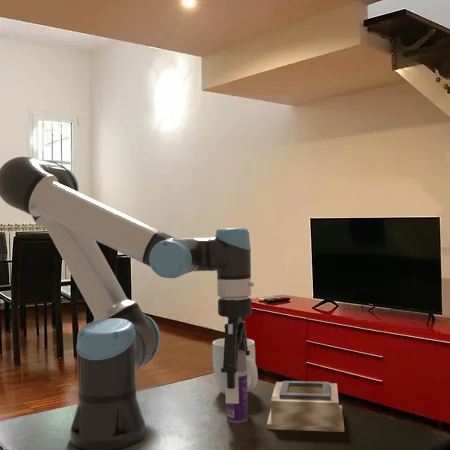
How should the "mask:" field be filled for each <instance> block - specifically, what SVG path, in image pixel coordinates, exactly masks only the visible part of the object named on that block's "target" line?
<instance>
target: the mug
mask: <svg viewBox="0 0 450 450" xmlns="http://www.w3.org/2000/svg"><path fill="white" fill-rule="evenodd" d="M224 341H225V337H224V338H218V339H216V340H213V341H212V366H213V367H212V368H213V373H214V379H215V382H216V384H217V388H218V389H219V390H220V393H222V394H223V395H225V373H221V368H223V359H224ZM255 345H256V344H255V341H254V340H253V339H250V338H247V347H248V350H247V351H250V355H246V356H247V393H248V392H249V390H251V389H254V388H256V386H257V385H258V378H259V376H258V367H257V364H256V346H255Z"/></svg>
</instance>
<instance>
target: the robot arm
mask: <svg viewBox="0 0 450 450" xmlns="http://www.w3.org/2000/svg"><path fill="white" fill-rule="evenodd" d="M0 198H1V199H2V200H3V201H4V203H5V204H7V205H8V206H11V207H13V208H14V209H17V210H19V211H22V212H24V213H26V214H28V215H31V217H32V219H33V221H34V222H35V224H36V225H37V226H39V227H41V228H42V227H43V228H44V229H46V231H47V232H48V234H49V236H50V238H51V240H52V242H53V244H54V246H55V248H56V249H57V251H58V252H59V254H60V256H61V258H62V260H63V262H64V264H65V266H66V267H67V269H68V271H69V273H70V275H71V277H72V279H73V280H74V282H75V284H76V286H77V288H78V290H79V291H80V294H81V295H82V297H83V299H84V301H85V303H86V305H87V306H88V308H89V311H90V313H92V315H93V321H91V322H88V323H86V324H84V325H83V326H82V327H80V329H79V330H78V333H77V337H76V338H77V339H76V340H77V342H76V353H77V354H76V355H77V356H76V357H77V383H78V384H77V386H78V387H77V389H78V392H77V393H78V403H77V406H76V409H75V414H74V416H73V421H72V424H71V426H70V443H71V445H72V446H73V447H75V448H77V449H81V450H118V449H119V450H120V449H123V448H126V447H130V446H132V445H134V444H137V443H139V442H140V441H142V440H143V439H144V437H145V436H146V422H145V418H144V416H143V412H142V410H141V407H140V405H139V402H138V398H137V389H136V388H137V384H136V381H137V379H136V378H137V376H136V371H137V370H139V369H140V368H141V367H144V366H145V365H147V364H148V363H150V362H151V360H152V359H153V358H154V357H155V355H156V353H157V352H158V350H159V347H160V344H161V332H160V328H159V326H158V325H157V323H156V321H154V319H153V318H152V317H150V316H148V315H146V314H145V313H144V312H143V311H142V309H141V307H140V305H139V303H138V302H137V301H135V300H132V299H129V298H128V297H127V295H126V293H125V292H124V289H123V288H122V286H121V285H120V283H119V281H118V279H117V277H116V275H115V274H114V272H113V270H112V268H111V267H110V265H109V263H108V260H107V258H106V256H105V255H104V253H103V251H102V250H101V248H100V246H99V244H98V243H100V244H102V245H104V246H106V247H109V248H110V249H112V250H115V251H116V252H118V253H121V254H123V255H125V256H127V257H129V258H131V259H133V260H136V261H138V262H139V263H142V264H144V265H145V266H147V267H150V268H151V270H152V271H153V273H154V274H156V275H158V277H161V278H163V279H164V278H165V279H176V278H179V277H182V276H183V275H187V274H189V273H191V272H214V271H215V272H216V286H217V288H216V290H217V292H216V294H217V296H218V300H217V314H218V315H219V316H220V317H223V318H227V323H226V324H224V325H223V326H224V327H223V328H224V338H225V341H224V359H223V368H221V373H225V394H224V395H225V404H227V403H236V404H238V403H239V387H238V372H237V362H238V350H244V351H246V355H250V351H247V350H248V347H247V339H248V338H247V330H246V329H247V328H246V317H249V316H251V315H252V314H253V312H252V311H253V305H252V303H253V302H252V299H251V297H250V296H251V295H252V287H254V284H255V283H254V282H253V281H251V279H252V275H251V274H252V268H251V267H252V266H251V264H252V263H251V259H252V258H251V251H252V250H251V249H252V248H251V244H250V243H251V241H250V232H249V230H248V229H247V228H246V227H236V228H234V227H231V228H230V227H229V228H217V229H216V232H215V235H214V236H212V237H174V236H173V235H170V234H167V233H166V232H163V231H161V230H159V229H157V228H155V227H152V226H150V225H148V224H146V223H144V222H142V221H140V220H138V219H137V218H133V217H131V216H130V215H127V214H125V213H123V212H121V211H118V210H116V209H114V208H113V207H110V206H108V205H106V204H103V203H101V202H100V201H97V200H95V199H93V198H91V197H89V196H86V195H85V194H83V193H80V192H79V182H78V180H77V178H76V176H75V174H74V172H72V171H71V170H70V169H69V168H68V167H67V166H64V165H62V164H61V163H59V162H55V161H51V160H42V159H39V158H38V159H37V158H34V157H30V156H18V157H13V158H11V159H9V160H8V161H6V162H4V164H3V165H2V166H1V167H0ZM97 242H98V243H97ZM246 364H247V356H246ZM229 365H232V366H229Z"/></svg>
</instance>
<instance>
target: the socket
mask: <svg viewBox="0 0 450 450" xmlns="http://www.w3.org/2000/svg"><path fill="white" fill-rule="evenodd" d="M338 391H339V390H338V383H336V382H335V383H333V382H332V383H331V382H330V381H308V380H307V381H304V380H302V381H301V380H282V381H276V382H275V385H274V389H273V392H272V394H271V399H270V411H269V413H268V414H269V415H268V417H267V422H266V430H284V431H285V430H286V431H289V430H290V431H309V432H333V433H334V432H335V433H336V432H337V433H344V432H345V425H344V424H345V423H344V414H343V405H342V404H340V403H339V394H338V393H339V392H338Z"/></svg>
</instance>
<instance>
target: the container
mask: <svg viewBox="0 0 450 450" xmlns="http://www.w3.org/2000/svg"><path fill="white" fill-rule="evenodd" d="M229 366H232V365H229ZM237 372H238V387H239V403H238V404H236V403H226V420H227V422H229V423H233V424H242V423H246V422H247V421H249V410H248V409H249V408H248V407H249V402H248V396H249V395H248V392H247V364H246V351H244V350H238V362H237Z"/></svg>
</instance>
